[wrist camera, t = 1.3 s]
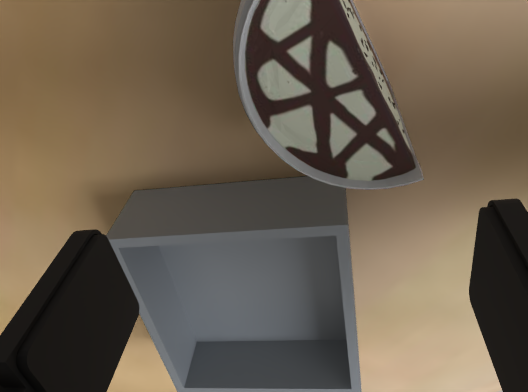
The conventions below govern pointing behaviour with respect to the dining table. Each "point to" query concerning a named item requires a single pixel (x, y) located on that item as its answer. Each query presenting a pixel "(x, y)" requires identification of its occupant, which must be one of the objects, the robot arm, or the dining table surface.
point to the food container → (321, 93)
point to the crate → (245, 284)
